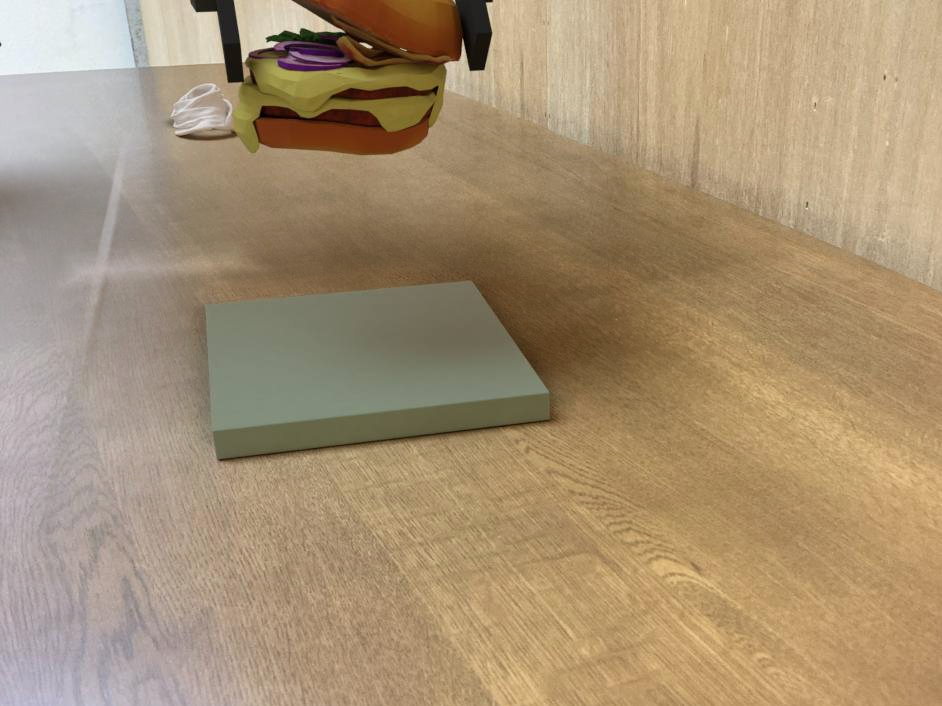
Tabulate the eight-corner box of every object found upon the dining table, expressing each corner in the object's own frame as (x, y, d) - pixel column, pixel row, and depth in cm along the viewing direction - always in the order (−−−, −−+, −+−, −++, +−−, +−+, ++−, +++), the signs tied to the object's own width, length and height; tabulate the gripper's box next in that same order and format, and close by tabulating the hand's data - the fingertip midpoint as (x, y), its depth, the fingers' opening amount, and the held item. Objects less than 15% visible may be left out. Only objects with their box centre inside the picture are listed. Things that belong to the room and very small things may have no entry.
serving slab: (208, 328, 68) (204, 304, 67) (472, 303, 71) (471, 279, 70) (216, 460, 53) (211, 430, 52) (550, 420, 56) (550, 392, 55)
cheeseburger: (206, 131, 59) (226, -82, 55) (397, 163, 65) (427, -30, 61) (256, 169, 51) (284, -76, 47) (469, 201, 57) (509, -17, 53)
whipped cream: (240, 147, 115) (238, 97, 112) (170, 144, 113) (166, 93, 110) (239, 126, 121) (237, 77, 118) (173, 123, 119) (169, 74, 117)
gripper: (32, -398, 52) (82, 11, 47) (525, -377, 57) (616, -7, 53) (66, -249, 59) (113, 121, 54) (502, -242, 65) (580, 95, 60)
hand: (360, 58), depth 53 cm, fingers closed on cheeseburger, 11 cm apart
